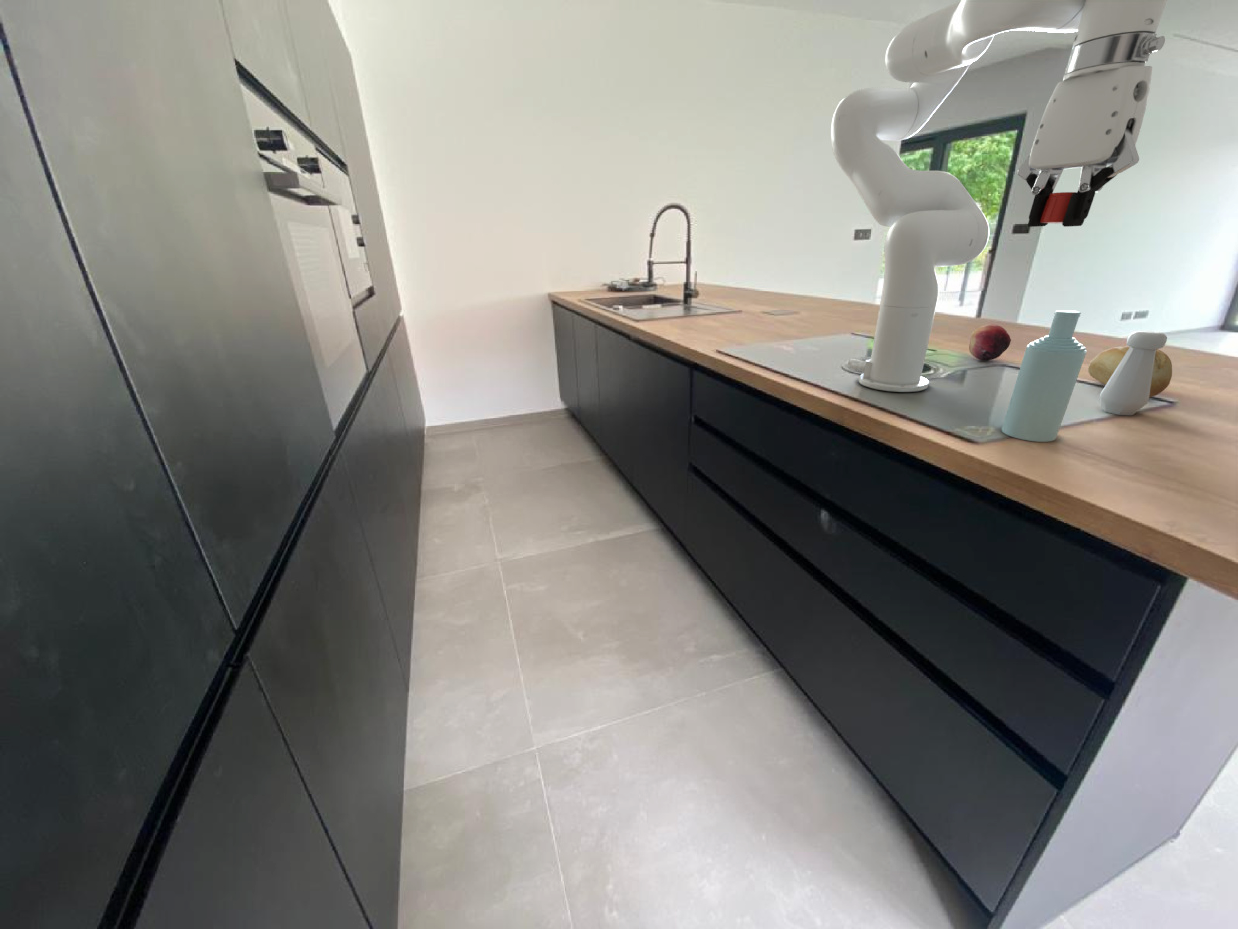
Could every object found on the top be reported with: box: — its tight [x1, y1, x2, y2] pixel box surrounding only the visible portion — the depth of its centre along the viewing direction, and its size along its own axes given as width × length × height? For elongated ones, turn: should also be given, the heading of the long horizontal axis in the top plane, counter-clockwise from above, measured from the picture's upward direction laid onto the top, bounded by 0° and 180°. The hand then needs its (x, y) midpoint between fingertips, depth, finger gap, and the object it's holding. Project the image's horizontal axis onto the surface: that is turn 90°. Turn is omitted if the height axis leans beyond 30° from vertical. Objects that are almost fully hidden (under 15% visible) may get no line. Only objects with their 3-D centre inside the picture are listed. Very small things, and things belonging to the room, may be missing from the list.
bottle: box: [1001, 309, 1088, 443], centre depth 72 cm, size 7×7×18 cm
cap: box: [1040, 191, 1078, 225], centre depth 69 cm, size 4×4×4 cm
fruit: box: [968, 324, 1012, 362], centre depth 115 cm, size 8×8×8 cm
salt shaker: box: [1099, 330, 1168, 416], centre depth 80 cm, size 6×6×13 cm
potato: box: [1087, 345, 1173, 398], centre depth 92 cm, size 10×15×8 cm, turn 166°
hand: (1054, 224), depth 69 cm, fingers closed on cap, 3 cm apart
